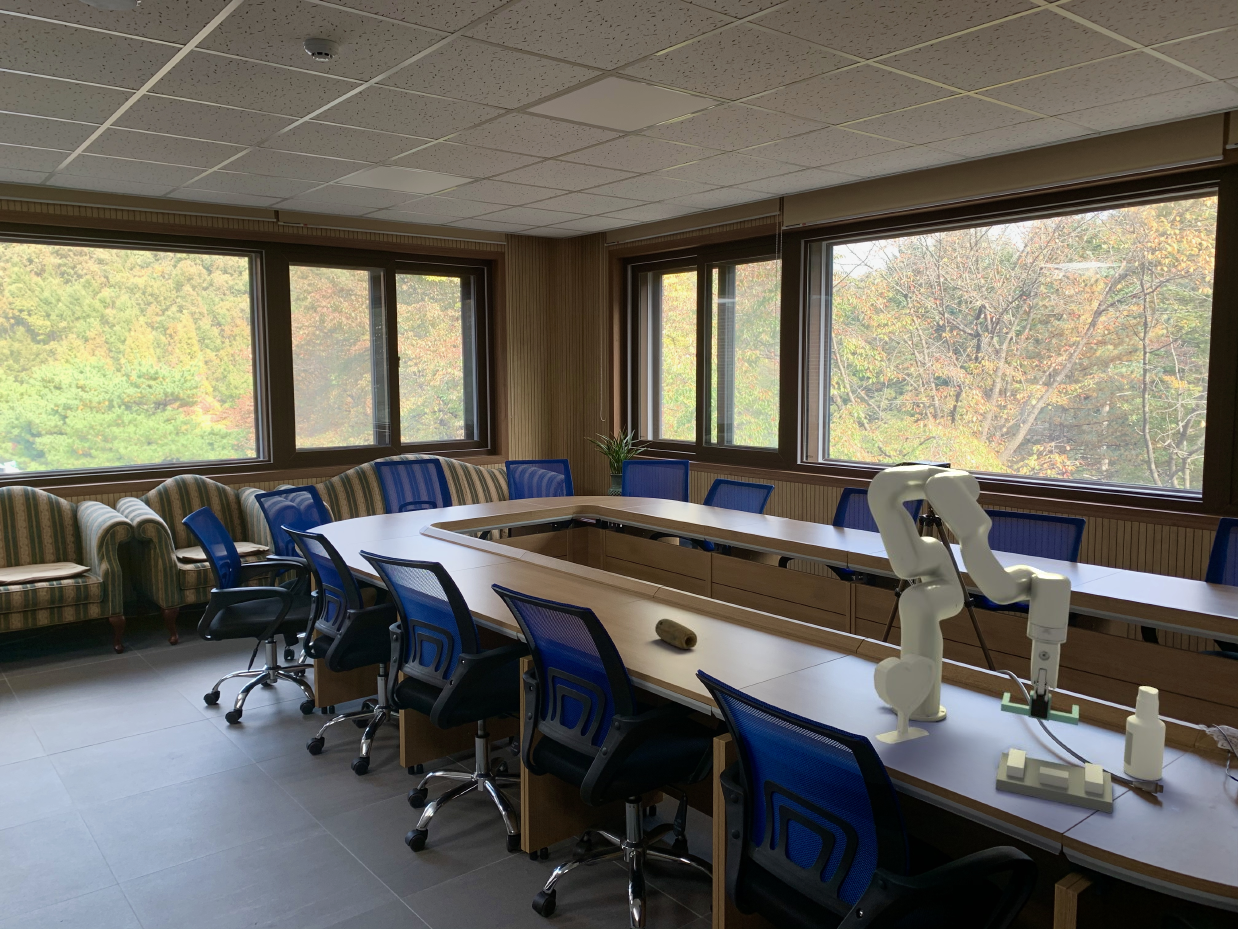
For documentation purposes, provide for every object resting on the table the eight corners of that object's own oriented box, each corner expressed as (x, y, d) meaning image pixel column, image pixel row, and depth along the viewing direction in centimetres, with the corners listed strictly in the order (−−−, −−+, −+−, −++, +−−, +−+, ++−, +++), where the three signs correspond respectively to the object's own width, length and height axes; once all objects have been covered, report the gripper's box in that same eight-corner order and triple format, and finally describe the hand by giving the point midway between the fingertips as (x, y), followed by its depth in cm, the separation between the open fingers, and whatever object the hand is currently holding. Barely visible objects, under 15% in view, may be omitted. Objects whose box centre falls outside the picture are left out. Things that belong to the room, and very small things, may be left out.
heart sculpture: (884, 745, 193) (888, 666, 191) (868, 737, 198) (871, 659, 196) (935, 733, 200) (939, 656, 198) (918, 725, 205) (922, 649, 203)
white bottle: (1147, 766, 184) (1154, 683, 182) (1169, 781, 177) (1176, 695, 176) (1116, 766, 184) (1122, 683, 182) (1136, 781, 177) (1142, 695, 175)
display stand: (995, 788, 173) (996, 769, 173) (1001, 761, 186) (1002, 743, 185) (1111, 813, 164) (1113, 792, 164) (1109, 782, 176) (1111, 763, 176)
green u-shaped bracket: (1000, 711, 191) (1002, 689, 191) (1004, 697, 200) (1005, 676, 199) (1077, 726, 184) (1080, 703, 184) (1078, 711, 193) (1080, 689, 192)
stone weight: (650, 640, 268) (651, 619, 267) (668, 636, 272) (669, 615, 272) (682, 653, 256) (683, 631, 255) (700, 649, 260) (701, 627, 260)
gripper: (1065, 645, 178) (1057, 732, 180) (1067, 624, 192) (1059, 705, 195) (1025, 638, 181) (1017, 723, 184) (1029, 619, 196) (1022, 698, 198)
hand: (1039, 713), depth 189 cm, fingers closed on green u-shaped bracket, 2 cm apart
